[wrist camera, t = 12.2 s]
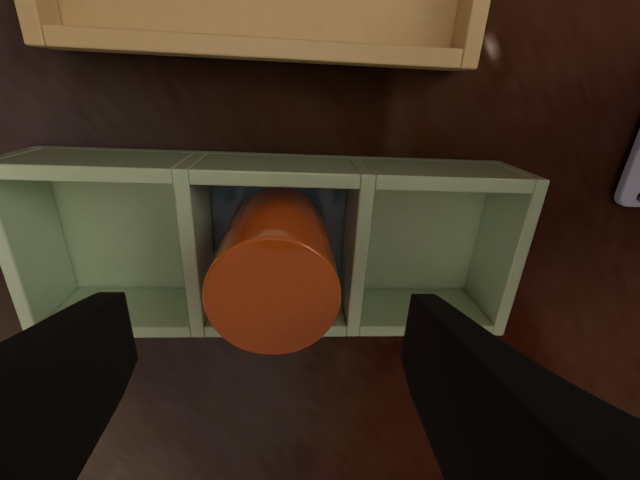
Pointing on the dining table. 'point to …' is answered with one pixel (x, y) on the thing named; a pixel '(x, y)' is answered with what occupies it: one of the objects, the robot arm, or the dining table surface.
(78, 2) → the birch tray
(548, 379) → the robot arm
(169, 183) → the green compartment tray
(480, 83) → the dining table surface
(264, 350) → the orange cylinder
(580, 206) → the dining table surface
